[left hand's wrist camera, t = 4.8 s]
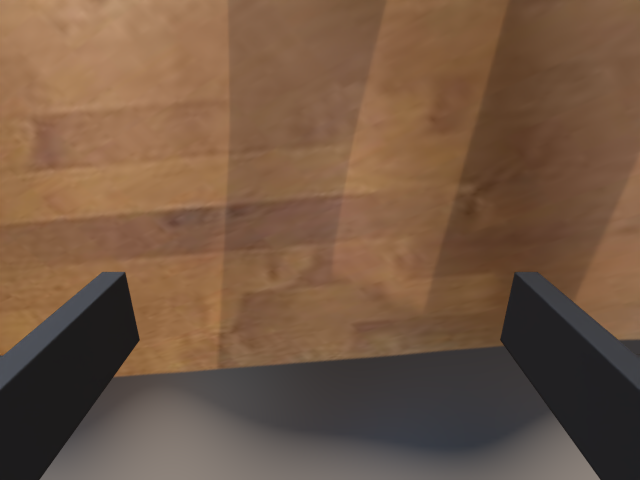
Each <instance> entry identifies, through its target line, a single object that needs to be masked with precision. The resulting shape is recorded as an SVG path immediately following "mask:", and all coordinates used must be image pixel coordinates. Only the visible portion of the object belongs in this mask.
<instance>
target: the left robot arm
mask: <svg viewBox="0 0 640 480" xmlns="http://www.w3.org/2000/svg"><path fill="white" fill-rule="evenodd" d="M139 340H140V339H139V335H138V330H137V325H136V321H135V316H134V311H133V307H132V302H131V297H130V292H129V288H128V283H127V278H126V274H125V272H102V273H101V274H100V275H98V276H97V277H96V278H95V279H94V280H92V281H91V282H90V283H89V284H88V285H86V286H85V287H84V288H83V289H82V290H81V291H79V292H78V293H77V294H76V295H75V296H73V297H72V298H71V299H70V300H69V301H67V302H66V303H65V304H64V305H63V306H62V307H60V308H59V309H58V310H57V311H56V312H54V313H53V314H52V315H51V316H50V317H48V318H47V319H46V320H45V321H44V322H43V323H41V324H40V325H39V326H38V327H37V328H35V329H34V330H33V331H32V332H31V333H29V334H28V335H27V336H26V337H25V338H24V339H22V340H21V341H20V342H19V343H18V344H16V345H15V346H14V347H13V348H12V349H10V350H9V351H8V352H7V353H6V354H5V355H3V356H0V480H39V479H40V478H41V477H42V475H43V474H44V473H45V471H46V470H47V468H48V467H49V466H50V464H51V463H52V461H53V460H54V459H55V457H56V456H57V454H58V453H59V452H60V450H61V449H62V447H63V446H64V445H65V443H66V442H67V441H68V439H69V438H70V436H71V435H72V434H73V432H74V431H75V429H76V428H77V427H78V425H79V424H80V422H81V421H82V420H83V418H84V417H85V415H86V414H87V413H88V411H89V410H90V408H91V407H92V406H93V404H94V403H95V402H96V400H97V399H98V397H99V396H100V395H101V393H102V392H103V390H104V389H105V388H106V386H107V385H108V383H109V382H110V381H111V379H112V378H113V376H114V375H115V374H116V372H117V371H118V369H119V368H120V367H121V365H122V364H123V363H124V361H125V360H126V358H127V357H128V356H129V354H130V353H131V351H132V350H133V349H134V347H135V346H136V344H137V343H138V342H139ZM500 340H501V342H502V343H503V344H504V346H505V347H506V349H507V350H508V351H509V353H510V354H511V356H512V357H513V358H514V360H515V361H516V363H517V364H518V365H519V367H520V368H521V369H522V371H523V372H524V374H525V375H526V376H527V378H528V379H529V381H530V382H531V383H532V385H533V386H534V388H535V389H536V390H537V392H538V393H539V395H540V396H541V397H542V399H543V400H544V402H545V403H546V404H547V406H548V407H549V408H550V410H551V411H552V413H553V414H554V415H555V417H556V418H557V420H558V421H559V422H560V424H561V425H562V427H563V428H564V429H565V431H566V432H567V434H568V435H569V436H570V438H571V439H572V440H573V442H574V443H575V445H576V446H577V447H578V449H579V450H580V452H581V453H582V454H583V456H584V457H585V459H586V460H587V461H588V463H589V464H590V466H591V467H592V468H593V470H594V471H595V473H596V474H597V475H598V477H599V478H600V480H640V354H634V353H633V352H632V351H631V350H630V349H628V348H627V347H626V346H625V345H624V344H622V343H621V342H620V341H619V340H618V339H616V338H615V337H614V336H613V335H612V334H611V333H609V332H608V331H607V330H606V329H605V328H603V327H602V326H601V325H600V324H599V323H597V322H596V321H595V320H594V319H593V318H592V317H590V316H589V315H588V314H587V313H586V312H584V311H583V310H582V309H581V308H580V307H578V306H577V305H576V304H575V303H574V302H573V301H571V300H570V299H569V298H568V297H567V296H565V295H564V294H563V293H562V292H561V291H559V290H558V289H557V288H556V287H555V286H554V285H552V284H551V283H550V282H549V281H548V280H546V279H545V278H544V277H543V276H542V275H540V274H539V273H538V272H515V274H514V278H513V283H512V288H511V292H510V297H509V302H508V307H507V311H506V316H505V321H504V325H503V330H502V335H501V339H500Z"/></svg>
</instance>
